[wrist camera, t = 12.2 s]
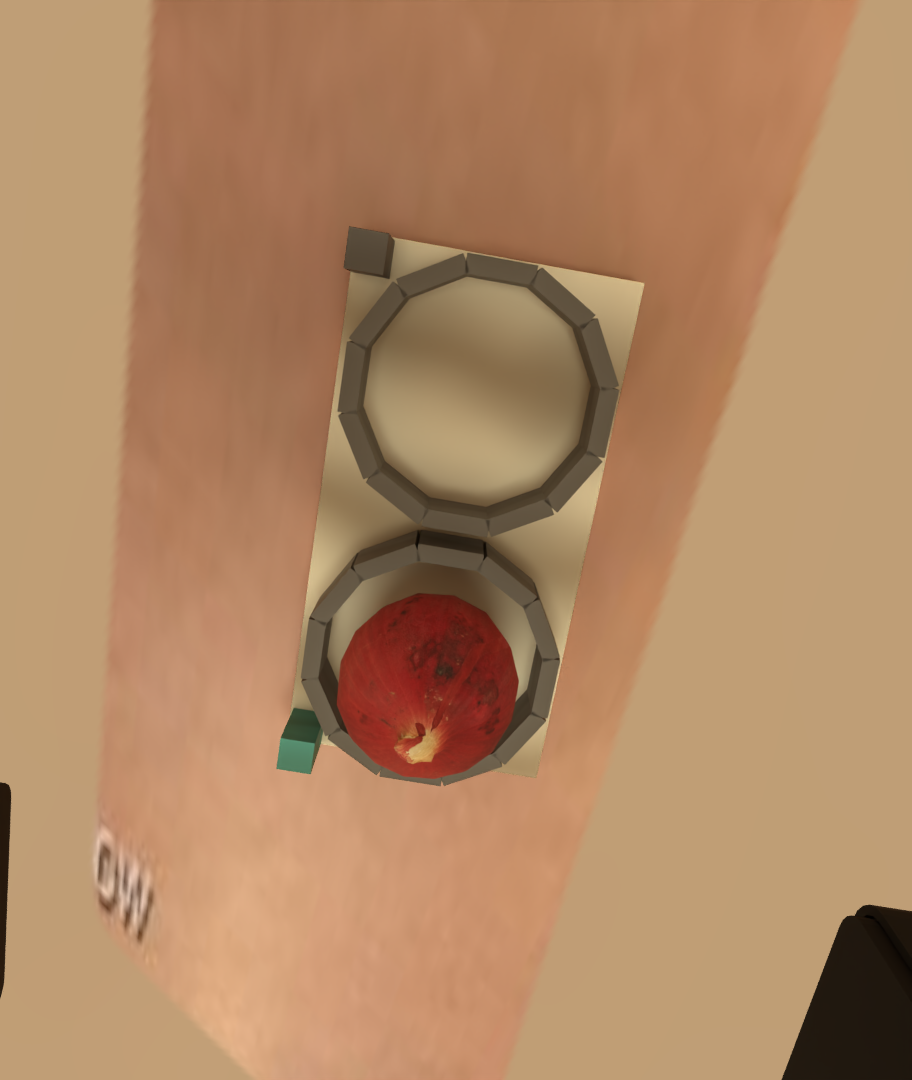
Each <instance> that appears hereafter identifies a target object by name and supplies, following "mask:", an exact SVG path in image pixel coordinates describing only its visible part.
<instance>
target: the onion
mask: <svg viewBox="0 0 912 1080" xmlns="http://www.w3.org/2000/svg"><path fill="white" fill-rule="evenodd" d="M518 684H519V679H518V675H517V671H516V667H515V663H514V658H513V654H512V650H511V647H510V646H509V644H508V642H507V640H506V639H505V638H504V636H503V635H502V633H501V632H500V631H499V629H498V628H497V627H496V625H495V624H494V622H493V621H492V620H491V618H490V617H489V615H488V614H487V613H486V612H485V611H483V610H481V609H479V608H477V607H475V606H473V605H471V604H470V603H468V602H466V601H464V600H462V599H460V598H458V597H457V596H455V595H441V594H426V593H417V594H414V595H412V596H409V597H407V598H404V599H402V600H399V601H396V602H394V603H391V604H389V605H386V606H385V607H383V608H381V609H380V610H379V611H378V612H377V613H376V614H374V615H373V616H372V617H371V618H370V619H369V620H368V621H367V622H365V623H364V624H363V625H362V626H361V627H360V628H359V629H357V630H356V631H355V633H354V635H353V637H352V639H351V641H350V643H349V645H348V647H347V650H346V652H345V654H344V656H343V658H342V660H341V663H340V672H339V683H338V695H337V707H338V709H339V712H340V714H341V717H342V719H343V721H344V724H345V726H346V729H347V731H348V734H349V736H350V737H351V739H352V740H353V741H354V742H355V743H356V744H357V745H358V746H359V747H360V748H361V749H362V750H363V751H364V752H365V753H366V754H367V755H368V756H369V757H370V758H371V759H372V760H373V761H374V762H375V763H376V764H378V765H380V766H382V767H384V768H387V769H389V770H391V771H393V772H395V773H397V774H399V775H401V776H404V777H417V778H430V779H436V778H440V777H444V776H448V775H453V774H457V773H462V772H464V771H467V770H468V769H470V768H471V767H473V766H474V765H475V764H477V763H478V762H479V761H481V760H482V759H484V758H485V757H486V756H488V755H489V754H491V753H492V752H493V750H494V748H495V747H496V745H497V744H498V742H499V740H500V739H501V737H502V735H503V734H504V732H505V731H506V729H507V727H508V726H509V724H510V722H511V721H512V716H513V711H514V706H515V701H516V696H517V691H518Z"/></svg>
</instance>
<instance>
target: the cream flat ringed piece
mask: <svg viewBox="0 0 912 1080" xmlns="http://www.w3.org/2000/svg"><path fill="white" fill-rule="evenodd" d="M344 268H345V269H347V270H349V271H350V279H349V286H348V293H347V301H346V308H345V316H344V323H343V330H342V338H341V345H340V352H339V360H338V367H337V374H336V382H335V389H334V396H333V404H332V411H331V418H330V426H329V433H328V441H327V448H326V455H325V463H324V470H323V477H322V485H321V492H320V499H319V507H318V514H317V521H316V529H315V536H314V544H313V551H312V558H311V566H310V573H309V580H308V588H307V595H306V602H305V610H304V617H303V624H302V632H301V639H300V646H299V654H298V661H297V669H296V676H295V683H294V691H293V698H292V705H291V713H290V718H289V720H288V722H287V725H286V727H285V729H284V732H283V734H282V736H281V739H280V747H279V754H278V762H277V769H281V770H287V771H293V772H300V773H306V774H311V771H312V768H313V765H314V762H315V759H316V756H317V753H318V750H319V747H320V744H325V745H331V746H337V747H339V748H340V749H342V750H343V751H344V752H346V753H347V754H348V755H350V756H351V757H352V758H354V759H355V760H357V761H358V762H359V763H361V764H362V765H363V766H365V767H366V768H367V769H369V770H370V771H371V772H373V773H374V774H375V775H377V774H378V773H379V772H380V777H386V778H392V779H398V780H405V781H411V782H417V783H424V784H430V785H436V786H441V781H442V782H443V785H444V786H445V785H448V784H451V783H454V782H457V781H460V780H464V779H467V778H470V777H473V776H476V775H479V774H482V773H485V772H488V771H494V772H500V773H506V774H512V775H519V776H525V777H531V778H536V777H537V773H538V768H539V764H540V759H541V755H542V750H543V745H544V741H545V736H546V732H547V727H548V723H549V718H550V713H551V709H552V704H553V700H554V695H555V691H556V686H557V681H558V677H559V672H560V668H561V663H562V659H563V654H564V649H565V645H566V640H567V636H568V631H569V627H570V622H571V617H572V613H573V608H574V604H575V599H576V595H577V590H578V585H579V581H580V576H581V572H582V567H583V563H584V558H585V553H586V549H587V544H588V540H589V535H590V531H591V526H592V521H593V517H594V512H595V508H596V503H597V499H598V494H599V489H600V485H601V480H602V476H603V471H604V467H605V462H606V457H607V453H608V448H609V444H610V439H611V435H612V430H613V425H614V421H615V416H616V412H617V407H618V403H619V398H620V393H621V389H622V384H623V380H624V375H625V371H626V366H627V361H628V357H629V352H630V348H631V343H632V339H633V334H634V329H635V325H636V320H637V316H638V311H639V307H640V302H641V297H642V293H643V288H644V284H645V283H641V282H635V281H630V280H624V279H619V278H613V277H608V276H602V275H597V274H591V273H586V272H580V271H575V270H569V269H564V268H558V267H553V266H547V265H542V264H537V263H531V262H526V261H520V260H515V259H509V258H504V257H498V256H493V255H487V254H482V253H476V252H471V251H465V250H460V249H454V248H449V247H443V246H438V245H432V244H427V243H421V242H416V241H410V240H405V239H399V238H394V237H391V235H390V234H389V233H383V232H378V231H372V230H367V229H361V228H356V227H350V226H349V232H348V239H347V246H346V254H345V261H344ZM417 593H426V594H441V595H455V596H457V597H458V598H460V599H462V600H464V601H466V602H468V603H470V604H471V605H473V606H475V607H477V608H479V609H481V610H483V611H485V612H486V613H487V614H488V615H489V617H490V618H491V620H492V621H493V622H494V624H495V625H496V627H497V628H498V629H499V631H500V632H501V633H502V635H503V636H504V638H505V639H506V640H507V642H508V644H509V646H510V647H511V650H512V654H513V658H514V663H515V667H516V671H517V675H518V679H519V684H518V691H517V696H516V701H515V706H514V711H513V716H512V721H511V722H510V724H509V726H508V727H507V729H506V731H505V732H504V734H503V735H502V737H501V739H500V740H499V742H498V744H497V745H496V747H495V748H494V750H493V752H492V753H491V754H489V755H488V756H486V757H485V758H484V759H482V760H481V761H479V762H478V763H477V764H475V765H474V766H473V767H471V768H470V769H468V770H467V771H464V772H462V773H457V774H453V775H448V776H444V777H440V778H436V779H430V778H417V777H404V776H401V775H399V774H397V773H395V772H393V771H391V770H389V769H387V768H384V767H382V766H380V765H378V764H376V763H375V762H374V761H373V760H372V759H371V758H370V757H369V756H368V755H367V754H366V753H365V752H364V751H363V750H362V749H361V748H360V747H359V746H358V745H357V744H356V743H355V742H354V741H353V740H352V739H351V737H350V736H349V734H348V731H347V729H346V726H345V724H344V721H343V719H342V717H341V714H340V712H339V709H338V707H337V695H338V683H339V672H340V663H341V660H342V658H343V656H344V654H345V652H346V650H347V647H348V645H349V643H350V641H351V639H352V637H353V635H354V633H355V631H356V630H357V629H359V628H360V627H361V626H362V625H363V624H364V623H365V622H367V621H368V620H369V619H370V618H371V617H372V616H373V615H374V614H376V613H377V612H378V611H379V610H380V609H381V608H383V607H385V606H386V605H389V604H391V603H394V602H396V601H399V600H402V599H404V598H407V597H409V596H412V595H414V594H417Z"/></svg>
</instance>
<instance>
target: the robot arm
mask: <svg viewBox="0 0 912 1080" xmlns="http://www.w3.org/2000/svg"><path fill="white" fill-rule="evenodd" d="M10 812H11V790H10V787H9V785H8V784H6V783H0V997H1V994H2V989H3V985H4V972H5V945H6V919H7V890H8V864H9V839H10ZM782 1080H912V911H906V910H899V909H893V908H887V907H881V906H874V905H865V906H862V907H861V908H860V909H859V910H857V912H856V914H855V916H847V917H846V918H845V919H844V920H843V921H842V923H841V925H840V927H839V930H838V932H837V935H836V938H835V940H834V943H833V945H832V948H831V951H830V953H829V956H828V959H827V961H826V964H825V966H824V969H823V972H822V974H821V977H820V980H819V982H818V985H817V988H816V990H815V993H814V996H813V998H812V1001H811V1003H810V1006H809V1009H808V1011H807V1014H806V1017H805V1019H804V1022H803V1025H802V1027H801V1030H800V1033H799V1035H798V1038H797V1040H796V1043H795V1046H794V1049H793V1051H792V1054H791V1056H790V1059H789V1062H788V1064H787V1067H786V1070H785V1072H784V1075H783V1078H782Z"/></svg>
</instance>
